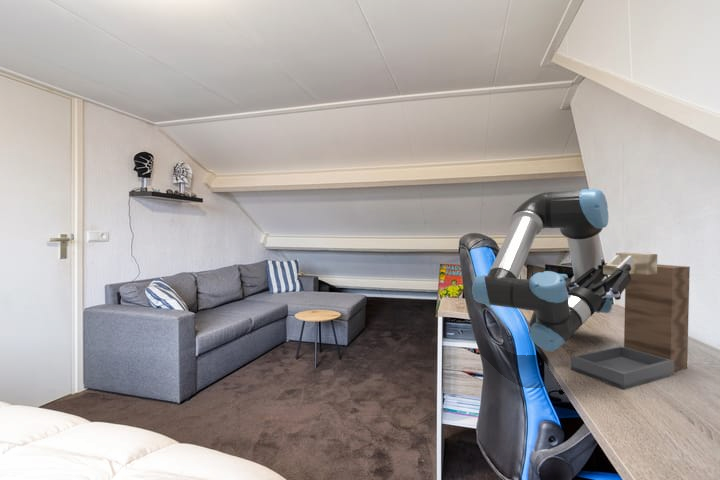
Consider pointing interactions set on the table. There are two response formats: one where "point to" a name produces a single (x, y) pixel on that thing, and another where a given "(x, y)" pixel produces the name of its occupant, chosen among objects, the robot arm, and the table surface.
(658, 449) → the table surface
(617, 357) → the tray
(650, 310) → the plinth
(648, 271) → the mallet
